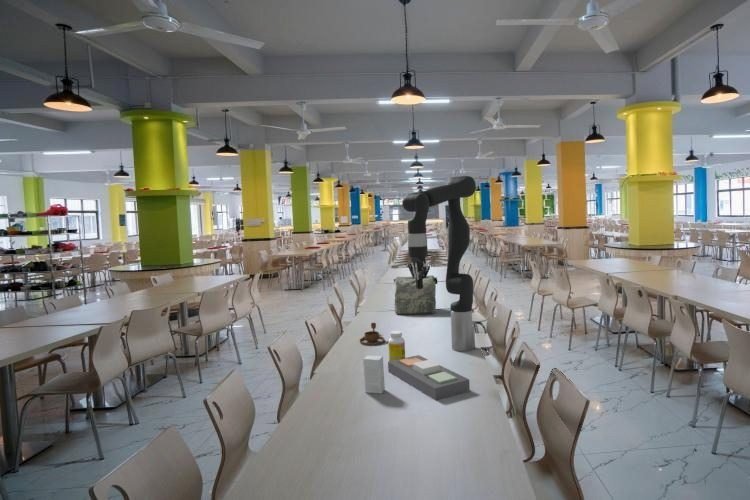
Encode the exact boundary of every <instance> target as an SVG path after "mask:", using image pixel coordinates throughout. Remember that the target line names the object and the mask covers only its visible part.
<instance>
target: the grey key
mask: <svg viewBox="0 0 750 500" xmlns="http://www.w3.org/2000/svg"><path fill="white" fill-rule="evenodd" d="M412 365H413V370H414V371H416V372H417V373H419V374H421V375H427V374H431V373H435V372H439V371H440V370H439V365H440V364H438V363H436V362H434V361H432V360H431V359H428V360H425V361H421V362H416V363H412Z"/></svg>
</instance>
